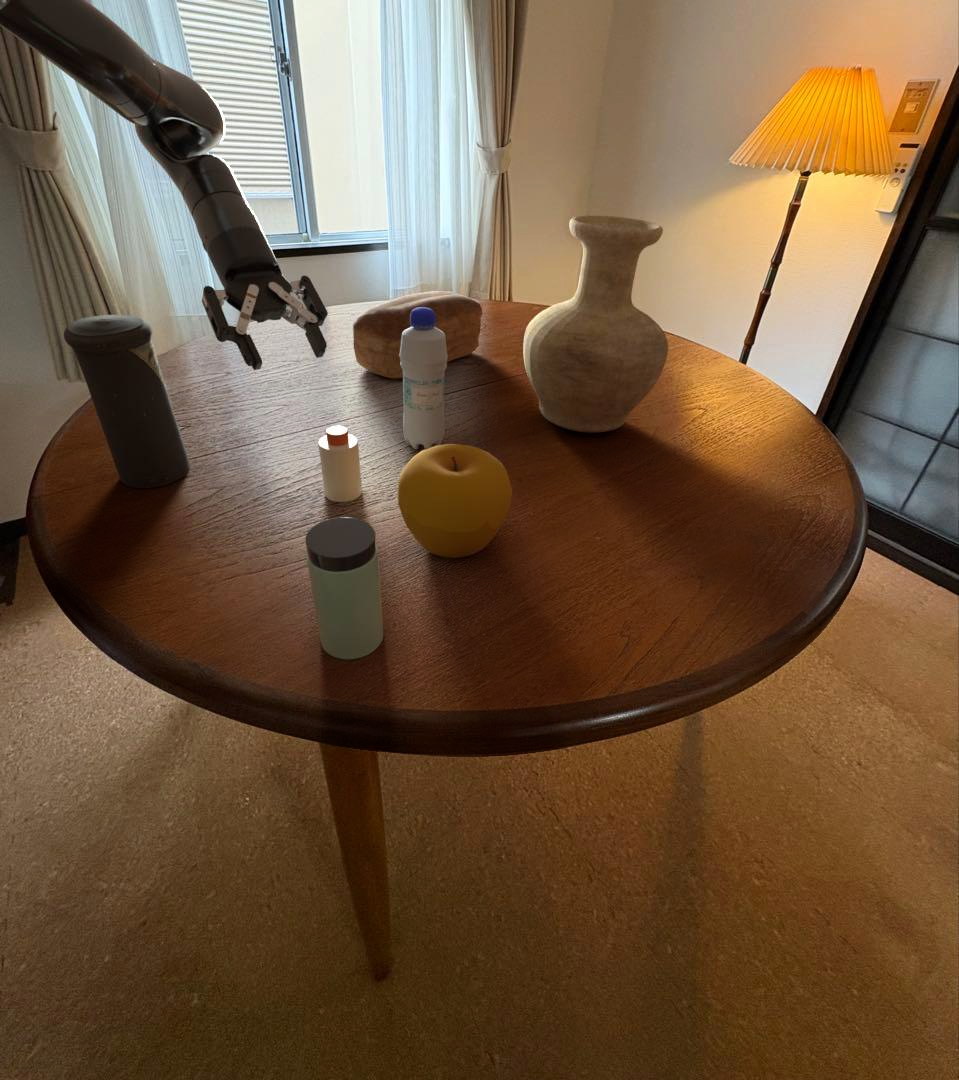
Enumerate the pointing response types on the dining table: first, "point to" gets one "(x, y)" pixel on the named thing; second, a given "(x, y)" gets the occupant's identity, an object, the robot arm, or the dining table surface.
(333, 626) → the celadon jar
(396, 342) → the bread
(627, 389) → the vase
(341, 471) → the cream bottle
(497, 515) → the apple
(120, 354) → the container
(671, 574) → the dining table surface
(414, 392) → the bottle
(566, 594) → the dining table surface
